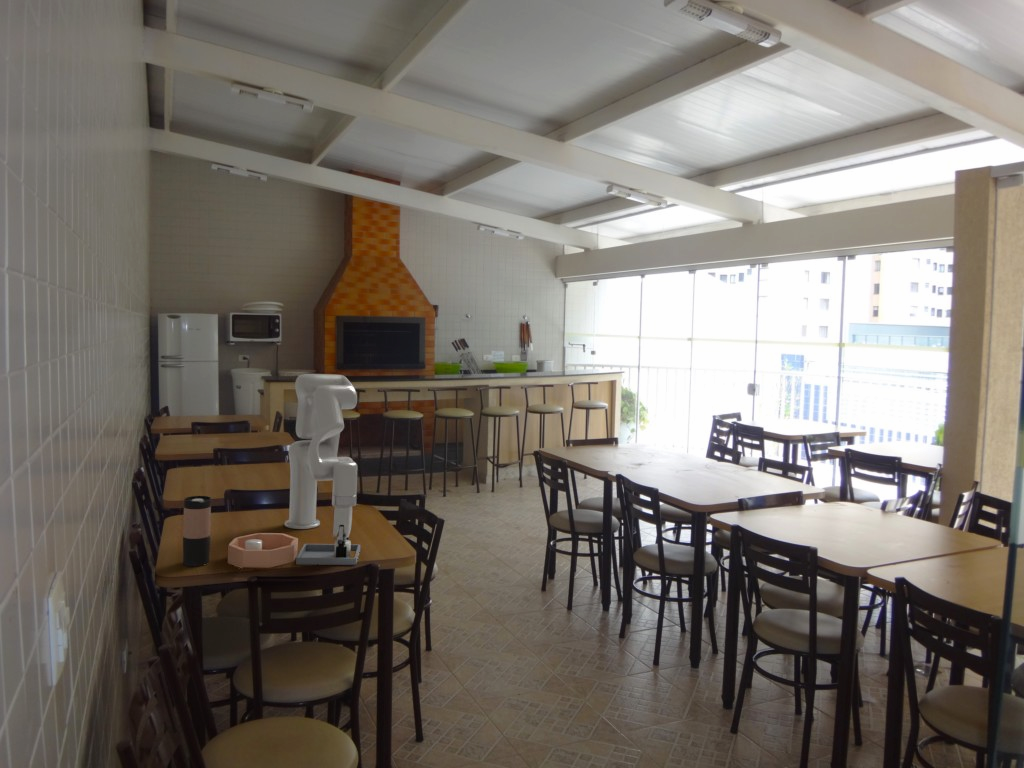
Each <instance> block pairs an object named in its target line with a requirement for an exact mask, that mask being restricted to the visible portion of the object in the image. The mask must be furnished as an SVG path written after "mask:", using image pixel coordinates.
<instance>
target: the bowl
mask: <svg viewBox="0 0 1024 768" xmlns="http://www.w3.org/2000/svg"><path fill="white" fill-rule="evenodd" d="M251 539H259V540H262V550H246V549H245V541H247V540H251ZM298 554H299V538H298V537H294V536H292V535H290V534H286V533H278V532H277V533H276V532H275V533H274V532H257V533H251V534H246V535H242V536H237V537H234V538H233V539H232V541H230V542H229V544H228V545H227V564H228V563H230V564H232V565H234V566H233V567H235V566H237V567H240V568H241V569H240V568H239V569H240V570H242V569H244V568H269V569H270V568H274V567H277V566H281V565H286V564H287V565H288V564H290V563H294V561H296V558H297V556H298ZM230 564H229V565H230ZM232 565H231V566H232ZM237 567H236V568H237Z"/></svg>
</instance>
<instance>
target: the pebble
mask: <svg viewBox="0 0 1024 768" xmlns="http://www.w3.org/2000/svg"><path fill="white" fill-rule="evenodd" d="M351 541H352V540H350V539H347V540H346V546H347V553H346V558H350V551H351V544H352V542H351ZM334 544H335V548H334V558H336V546H337V540H335V541H334Z"/></svg>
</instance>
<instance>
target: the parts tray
mask: <svg viewBox="0 0 1024 768" xmlns="http://www.w3.org/2000/svg"><path fill="white" fill-rule="evenodd" d="M334 548H335V543H304V544H303V546H302V547H301V549H300V551H298V554H297V556H296V558H295V561H296V562H295V564H296V565H304V566H305V565H313V566H314V565H316V566H317V564H318V565H320V566H322V565H323V566H328V565H330V566H333V565H334V566H335V565H336V566H356V565H357V563H358V560H359V557H360V553H359V552H361V544H355V543H354V544H352V543H351V551H356V554H355V557H354V558H332V557H334V556H333V555H334ZM358 556H359V557H358ZM357 559H358V560H357Z"/></svg>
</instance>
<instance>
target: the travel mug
mask: <svg viewBox="0 0 1024 768" xmlns="http://www.w3.org/2000/svg"><path fill="white" fill-rule="evenodd" d="M211 504H212V499H211V497H210V496H207V495H192V496H187V497H185V498H184V499H183V525H182V549H183V550H182V553H183V554H182V557H183V559H182V561H183V562H182V564H183V565H184V566H185V565H186V566H185V567H188V566H199V567H202V566H201V565H204V564H206V565H208V564H209V563H208V562H210V552H211V551H210V549H211V547H210V546H211V528H212V527H211V526H212V525H211V515H212V513H211V512H212V511H211V510H212V505H211ZM207 563H208V564H207ZM204 566H205V565H204Z"/></svg>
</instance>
